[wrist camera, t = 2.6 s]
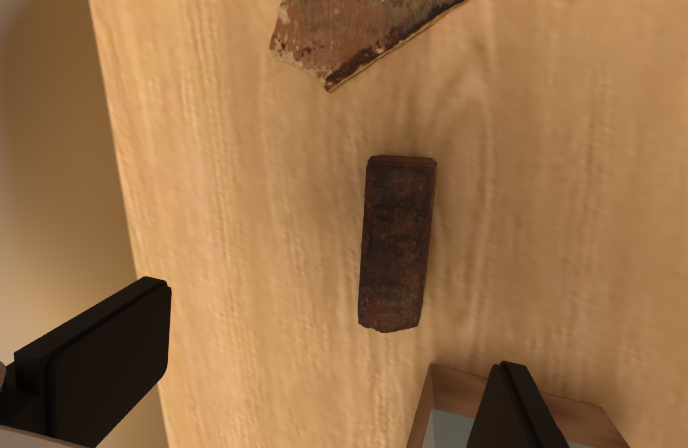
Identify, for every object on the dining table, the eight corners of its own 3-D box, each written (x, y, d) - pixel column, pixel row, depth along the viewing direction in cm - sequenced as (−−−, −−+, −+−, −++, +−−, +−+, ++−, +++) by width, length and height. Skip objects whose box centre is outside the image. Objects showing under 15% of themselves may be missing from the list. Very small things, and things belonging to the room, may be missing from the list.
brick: (372, 153, 25) (364, 158, 21) (433, 157, 24) (439, 163, 20) (362, 301, 28) (353, 334, 23) (417, 308, 27) (419, 343, 23)
